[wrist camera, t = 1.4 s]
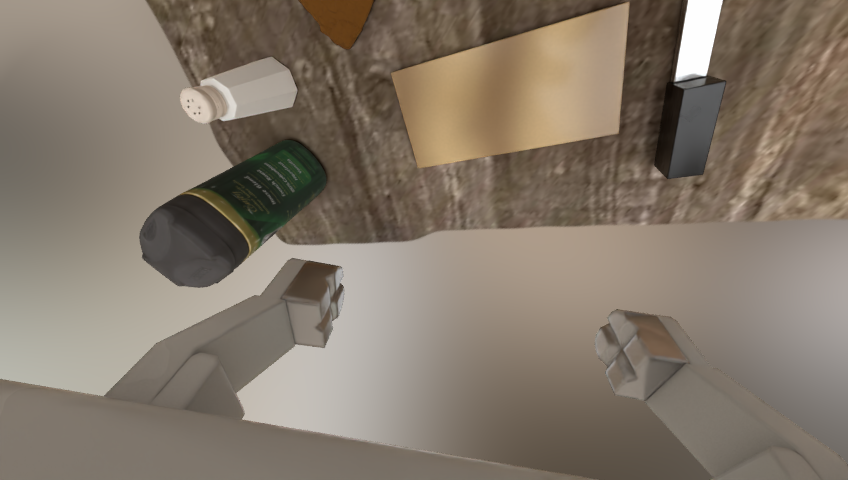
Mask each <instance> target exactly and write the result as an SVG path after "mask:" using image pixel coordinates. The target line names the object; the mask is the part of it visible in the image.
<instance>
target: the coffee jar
mask: <svg viewBox="0 0 848 480" xmlns="http://www.w3.org/2000/svg"><path fill="white" fill-rule="evenodd" d="M325 185H326V174H325V172H324V170H323V168H322V166H321V165H320V163H319V162H318V160H317V159H316V158H315V157H314V156H313V155H312V154H311V152H310V151H309V150H307V149H306V148H305V147H304V146H302V145H301V144H299V143H297V142H295V141H292V140H284V141H282V142H279V143H277V144H276V145H274V146H272V147H270V148H268V149H266V150H264V151H263V152H261V153H259V154H257V155H255V156H253V157H251V158H250V159H248V160H246V161H244V162H242V163H240V164H238V165H236V166H234V167H232V168H230V169H229V170H226V171H225V172H223V173H221V174H219V175H217V176H215V177H213V178H211V179H210V180H208V181H206V182H204V183H202V184H200V185H198V186H196V187H194V188H192V189H190V190H188V191H186V192H184V193H182V194H180V195H178V196H177V197H175V198H173V199H172V200H170V201H168V202H167V203H165V204H163V205H162V206H160V207H159V208H157V209H156V210H154V211H153V212H152V214H151V215H150V216H149V217H148V218H147V219H146V221H145V223H144V225H143V227H142V229H141V231H140V237H139V238H140V245H141V249H142V252H143V255H142V258H143V259H144V260H145V261H146V262H147V263H148V264H150V265H151V266H152V267H153V268H155V269H156V270H157V271H159V272H160V273H161V274H162V275H164V276H165V277H166V278H168V279H169V280H170V281H172V282H173V283H175V284H176V285H178V286H188V287H198V288H200V287H208V286H211V285H213V284H214V283H218V282H220V281H221V280H222V279H224V278H225V277H226V276H227V275H229V274H231V273H232V272H233V270H234V269H235V268H237V267H238V266H239V265H240V264H241V263H242V262H244V261H245V260H246V259H247V258H248V257H249V256H250V255H251V254H252V253H254V251H256V250H257V249H258V248H259V247H260V246H262V245H263V244H264V243H265V242H266V241H267V240H268V239H269V238H270V237H272V236H273V235H274V234H275V233H276V232H277V231H278V230H279V229H281V228H282V227H283V226H284V225H285V224H286V223H287V222H288V221H289V220H290V219H292V218H293V217H294V216H295V215H296V214H297V213H298V212H299V211H301V210H302V209H303V208H304V207H305V206H307V205H308V204H309V203H310V202H311V201H312V200H313V199H314V198H315V197H316V196H318V195H319V194H320V193H321V191H322V190H323V189H324V188H325Z"/></svg>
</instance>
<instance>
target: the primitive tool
mask: <svg viewBox="0 0 848 480" xmlns="http://www.w3.org/2000/svg"><path fill="white" fill-rule="evenodd" d="M299 2H300V3H301V4H302V5H303V6H304V8H305V9H306V10H307V11H308V12H309V13H310V14H311V15H312V16H313V18H314V19H315V20H316V21H317V22H318V23H319V25H320V31H321V32H322V33H324V34H325V35H327V36H329V37H330V39H331V40H332V41H333V42H334V43H335V44H336V45H339V46H341V47H342V48H344V49H350V48H351V47H352V45H353V44H354V42H355V41H356V39H357V36H358V35H359V33H360V32H361V31H362V28H363V26H364V23H365V21H366V19H367V17H368V14H369V12H370V10H371V7H372V4H373V2H374V0H299Z"/></svg>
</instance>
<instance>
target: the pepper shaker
mask: <svg viewBox="0 0 848 480" xmlns="http://www.w3.org/2000/svg"><path fill="white" fill-rule="evenodd" d="M297 91H298V90H297V87H296V85H295V82H294V80H293V77H292V75H291V72H290V70H289V69H288V68H287V67H285V66H284V65H282V64H281V63H280V62H278V61H277V60H276V59H274V58H273V57H268V58H265V59H261V60H257V61H254V62H251V63H249V64H246V65H243V66H240V67H237V68H235V69H232V70H229V71H226V72H223V73H220V74H218V75H215V76H212V77H209V78H206V79H204V80H202V81H201V85H200V86H198V87H194V88H190V87H189V88H184V89H183V90H182V91H181V94H180V101H181V104H182V107H183V109H184V110H185V112H186V113H187V114H188V116H190V117H191V118H192V119H193V120H195V121H196V122H199V123H201V124H207V123H210V122H211V121H212V120H216V119H220V120H222V121H227V120H233V119H238V118H243V117H247V116H252V115H257V114H262V113H266V112H271V111H276V110H280V109H285V108H290V107H293V104H294V101H295V98H296V94H297Z"/></svg>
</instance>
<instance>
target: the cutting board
mask: <svg viewBox="0 0 848 480" xmlns="http://www.w3.org/2000/svg"><path fill="white" fill-rule="evenodd" d="M629 5H630V2H624V3H621V4H618V5H614V6H611V7H607V8H604V9H601V10H597V11H594V12H591V13H587V14H584V15H581V16H577V17H574V18H571V19H567V20H564V21H561V22H557V23H554V24H551V25H547V26H544V27H541V28H537V29H534V30H531V31H527V32H524V33H521V34H517V35H514V36H511V37H507V38H504V39H501V40H497V41H494V42H491V43H487V44H484V45H481V46H477V47H474V48H471V49H467V50H464V51H461V52H457V53H454V54H451V55H447V56H444V57H441V58H437V59H434V60H431V61H427V62H424V63H421V64H417V65H414V66H411V67H407V68H404V69H401V70H397V71H394V72H391V76H392V79H393V83H394V86H395V90H396V93H397V97H398V100H399V104H400V107H401V111H402V114H403V117H404V121H405V124H406V128H407V131H408V135H409V138H410V142H411V145H412V149H413V152H414V156H415V159H416V163H417V166H418V168H424V167H430V166H435V165H441V164H447V163H453V162H458V161H464V160H470V159H476V158H481V157H487V156H493V155H499V154H504V153H510V152H516V151H522V150H527V149H533V148H539V147H545V146H550V145H556V144H562V143H568V142H574V141H579V140H585V139H591V138H597V137H602V136H608V135H614V134H618V133H619V124H620V112H621V100H622V88H623V76H624V65H625V53H626V41H627V29H628V17H629Z"/></svg>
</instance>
